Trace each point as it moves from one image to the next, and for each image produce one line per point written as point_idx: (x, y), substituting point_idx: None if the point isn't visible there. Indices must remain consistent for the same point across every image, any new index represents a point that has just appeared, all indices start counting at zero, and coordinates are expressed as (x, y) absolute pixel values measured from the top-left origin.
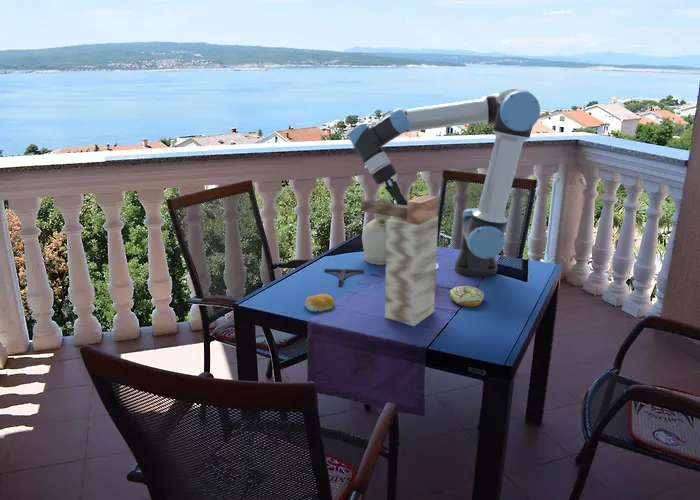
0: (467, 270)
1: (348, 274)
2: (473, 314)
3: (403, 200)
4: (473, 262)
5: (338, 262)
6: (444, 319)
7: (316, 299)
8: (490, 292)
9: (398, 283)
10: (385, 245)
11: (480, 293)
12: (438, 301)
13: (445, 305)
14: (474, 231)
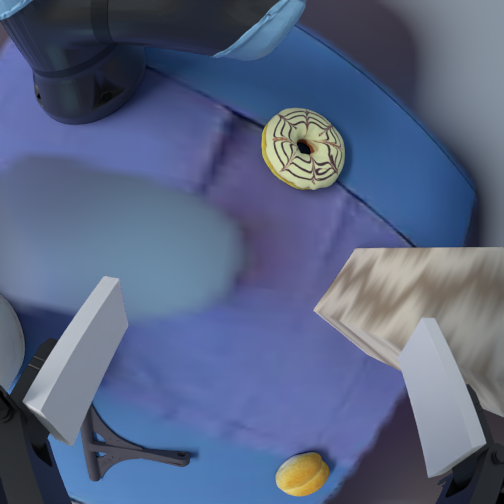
0: (124, 93)
1: (110, 438)
2: (365, 166)
3: (491, 494)
4: (126, 66)
5: None
6: (384, 233)
7: (323, 482)
8: (250, 82)
9: None
10: (3, 354)
11: (320, 119)
12: (301, 223)
13: (324, 211)
14: (293, 6)
